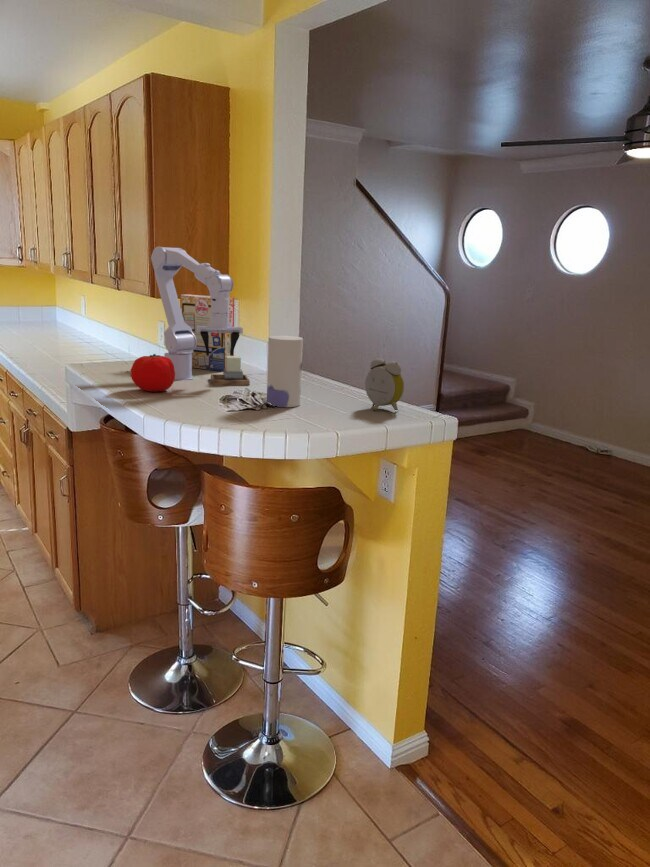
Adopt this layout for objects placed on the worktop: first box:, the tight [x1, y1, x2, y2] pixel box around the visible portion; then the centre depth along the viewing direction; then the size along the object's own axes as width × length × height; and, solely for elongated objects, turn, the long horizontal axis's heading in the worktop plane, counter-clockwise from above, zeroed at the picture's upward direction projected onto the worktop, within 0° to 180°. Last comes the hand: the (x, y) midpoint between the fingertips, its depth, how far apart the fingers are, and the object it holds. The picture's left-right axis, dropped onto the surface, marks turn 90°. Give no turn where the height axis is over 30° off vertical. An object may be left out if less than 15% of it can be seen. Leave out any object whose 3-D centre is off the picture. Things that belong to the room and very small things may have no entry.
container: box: [266, 334, 304, 408], centre depth 197 cm, size 10×10×20 cm
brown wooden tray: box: [210, 373, 251, 387], centre depth 226 cm, size 12×11×2 cm
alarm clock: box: [364, 357, 405, 411], centre depth 196 cm, size 12×7×15 cm, turn 43°
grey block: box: [222, 368, 244, 380], centre depth 226 cm, size 6×6×4 cm
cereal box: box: [179, 294, 235, 372], centre depth 249 cm, size 20×6×27 cm, turn 65°
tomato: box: [130, 353, 176, 392], centre depth 207 cm, size 12×13×12 cm
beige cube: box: [226, 355, 242, 371], centre depth 225 cm, size 4×4×4 cm
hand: (219, 355), depth 217 cm, fingers open, 7 cm apart
